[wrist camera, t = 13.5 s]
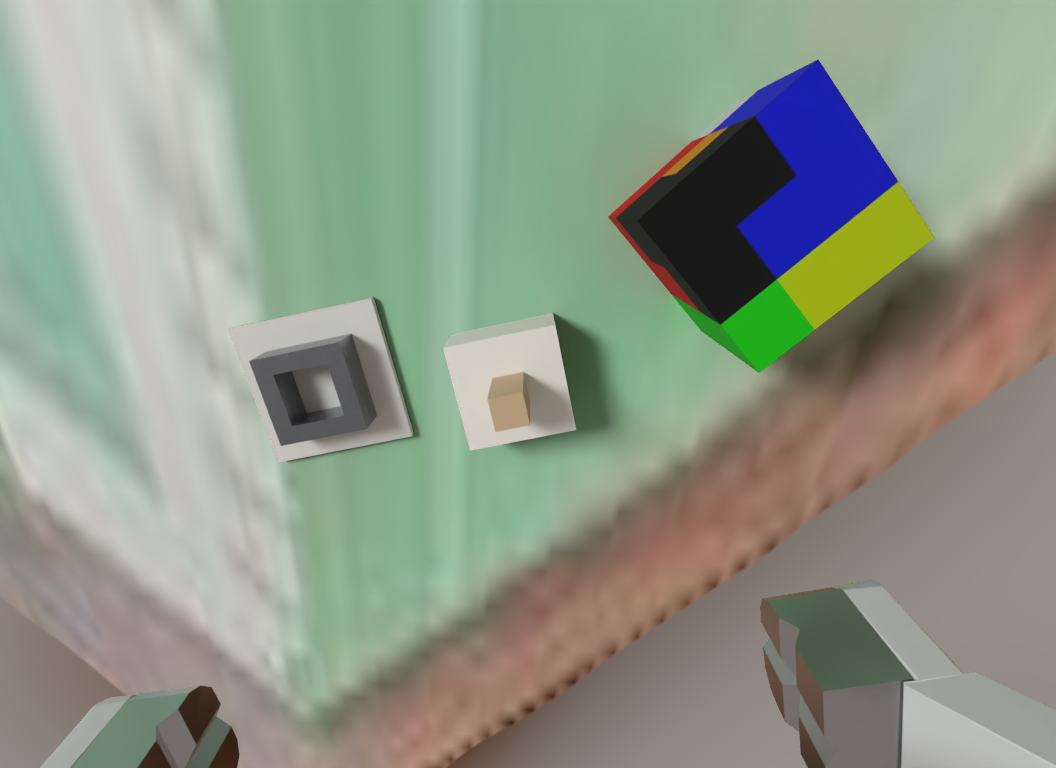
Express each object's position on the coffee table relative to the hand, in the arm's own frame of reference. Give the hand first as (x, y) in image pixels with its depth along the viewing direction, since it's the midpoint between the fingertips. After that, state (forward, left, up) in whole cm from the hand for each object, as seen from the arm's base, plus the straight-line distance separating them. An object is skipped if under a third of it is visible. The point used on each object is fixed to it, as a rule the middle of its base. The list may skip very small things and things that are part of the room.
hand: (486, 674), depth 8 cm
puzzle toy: (-3, +14, -31) cm, 34 cm away
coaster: (+2, -14, -31) cm, 34 cm away
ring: (+2, -14, -30) cm, 33 cm away
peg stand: (+4, -1, -31) cm, 31 cm away
